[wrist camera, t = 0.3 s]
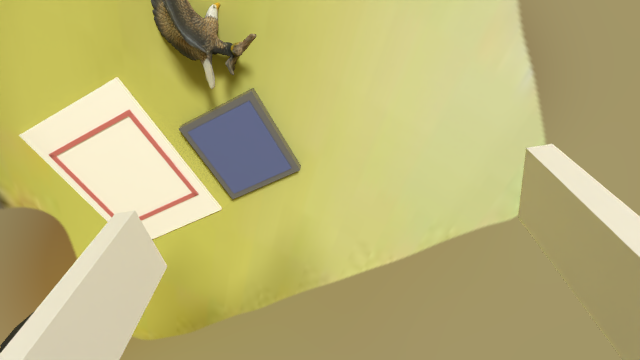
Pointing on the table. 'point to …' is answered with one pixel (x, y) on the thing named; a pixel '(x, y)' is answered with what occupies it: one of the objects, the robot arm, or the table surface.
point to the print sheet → (121, 161)
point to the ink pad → (241, 145)
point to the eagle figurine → (196, 34)
